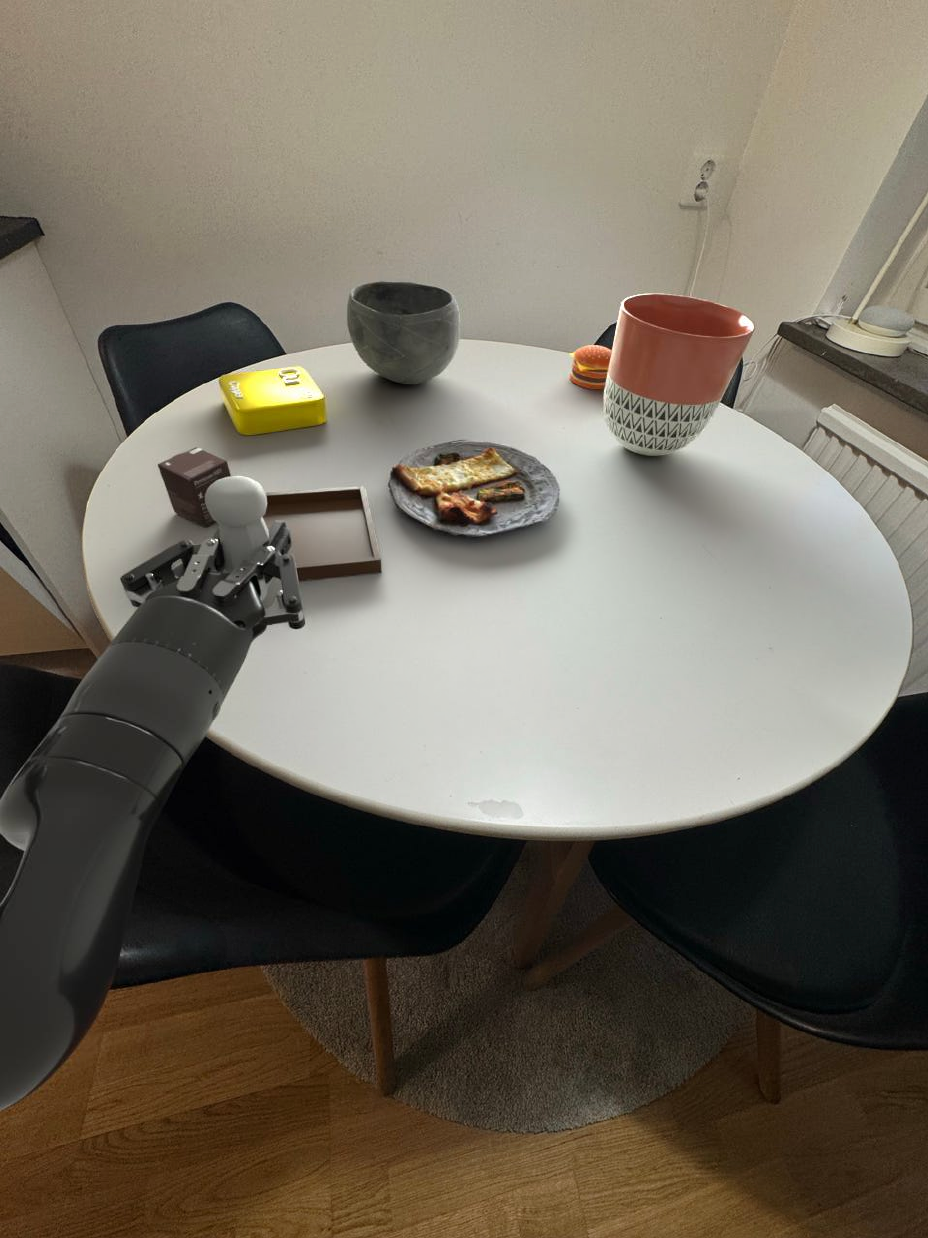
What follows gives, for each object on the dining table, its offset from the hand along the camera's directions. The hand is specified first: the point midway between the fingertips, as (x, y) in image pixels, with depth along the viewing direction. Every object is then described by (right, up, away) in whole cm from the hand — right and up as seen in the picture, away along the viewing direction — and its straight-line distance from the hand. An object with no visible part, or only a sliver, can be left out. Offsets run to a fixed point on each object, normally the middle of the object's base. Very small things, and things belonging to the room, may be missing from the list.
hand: (261, 527), depth 46 cm
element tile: (-16, +28, +49) cm, 59 cm away
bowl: (+5, +40, +63) cm, 75 cm away
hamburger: (+44, +42, +69) cm, 92 cm away
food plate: (+18, +10, +35) cm, 41 cm away
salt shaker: (-1, -7, +3) cm, 8 cm away
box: (-18, +7, +28) cm, 33 cm away
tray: (-3, +3, +25) cm, 25 cm away
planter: (+49, +22, +50) cm, 73 cm away
